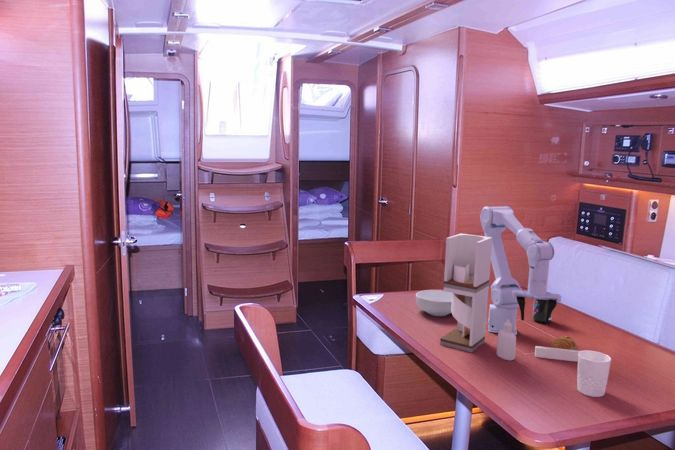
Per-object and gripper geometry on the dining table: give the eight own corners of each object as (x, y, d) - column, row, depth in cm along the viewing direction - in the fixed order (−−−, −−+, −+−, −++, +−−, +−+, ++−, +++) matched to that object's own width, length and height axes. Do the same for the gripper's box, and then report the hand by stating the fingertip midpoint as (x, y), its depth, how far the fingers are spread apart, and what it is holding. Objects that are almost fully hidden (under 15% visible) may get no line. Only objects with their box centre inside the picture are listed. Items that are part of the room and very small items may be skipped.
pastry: (563, 357, 169) (565, 345, 168) (543, 350, 174) (544, 338, 173) (578, 350, 175) (579, 338, 174) (558, 343, 180) (559, 332, 179)
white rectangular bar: (535, 356, 167) (536, 347, 167) (534, 355, 169) (535, 345, 168) (584, 362, 164) (585, 353, 164) (583, 360, 166) (584, 351, 165)
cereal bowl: (466, 311, 210) (467, 294, 209) (450, 323, 196) (451, 304, 195) (425, 303, 219) (426, 286, 218) (407, 314, 205) (408, 296, 204)
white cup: (569, 384, 149) (572, 350, 147) (596, 384, 149) (600, 350, 148) (584, 398, 141) (588, 362, 139) (613, 398, 142) (617, 362, 140)
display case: (454, 334, 185) (460, 233, 179) (484, 341, 179) (492, 237, 173) (440, 344, 176) (446, 238, 170) (471, 352, 169) (479, 242, 164)
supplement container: (538, 316, 206) (541, 290, 204) (555, 322, 201) (557, 294, 199) (528, 320, 202) (530, 293, 200) (544, 325, 197) (547, 297, 195)
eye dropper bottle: (508, 353, 169) (511, 316, 167) (515, 361, 164) (519, 323, 162) (495, 353, 169) (498, 316, 167) (501, 361, 163) (504, 323, 162)
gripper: (515, 280, 171) (511, 322, 173) (564, 285, 168) (560, 327, 170) (513, 275, 178) (510, 315, 180) (560, 279, 174) (556, 320, 177)
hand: (534, 320), depth 175 cm, fingers open, 7 cm apart
